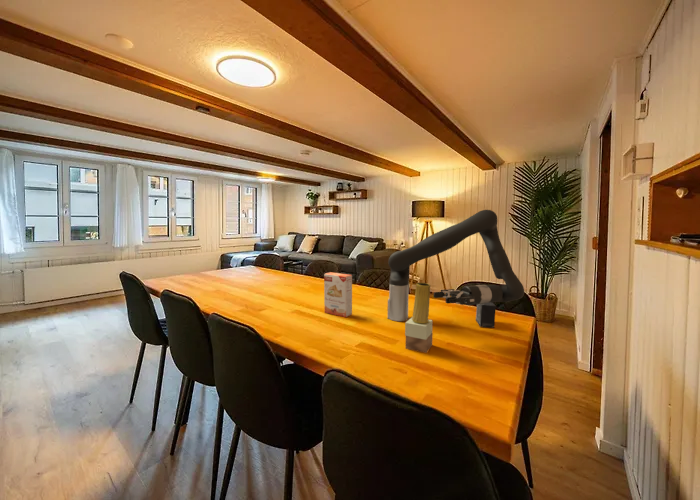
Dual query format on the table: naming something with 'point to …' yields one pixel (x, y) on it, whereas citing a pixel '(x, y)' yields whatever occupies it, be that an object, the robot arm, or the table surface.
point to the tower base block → (419, 343)
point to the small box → (486, 315)
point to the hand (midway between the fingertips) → (439, 297)
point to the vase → (421, 303)
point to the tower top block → (418, 329)
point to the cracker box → (338, 294)
